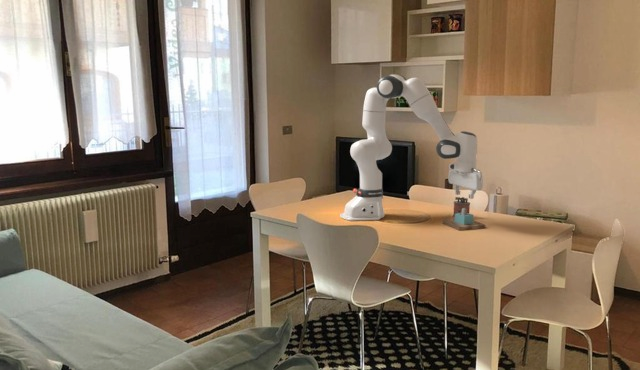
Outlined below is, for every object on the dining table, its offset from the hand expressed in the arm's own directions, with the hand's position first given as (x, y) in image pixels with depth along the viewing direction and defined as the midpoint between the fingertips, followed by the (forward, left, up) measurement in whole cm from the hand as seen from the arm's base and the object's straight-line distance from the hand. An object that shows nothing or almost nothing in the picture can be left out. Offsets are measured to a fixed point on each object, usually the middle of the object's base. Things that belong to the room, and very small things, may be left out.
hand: (464, 196), depth 262 cm
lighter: (+9, +16, -14) cm, 23 cm away
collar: (0, 0, -13) cm, 12 cm away
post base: (0, 0, -14) cm, 14 cm away
